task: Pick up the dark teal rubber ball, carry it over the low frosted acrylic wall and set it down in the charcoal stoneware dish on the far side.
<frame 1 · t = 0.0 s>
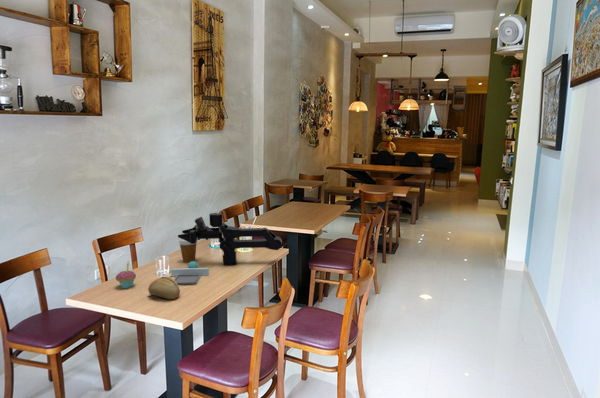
hand: (180, 233, 232), 17 cm above the table, tool horizontal, fingers open, 9 cm apart
wall: (190, 275, 217), on the table
cupcake: (126, 286, 204), on the table
bread roll: (164, 296, 192), on the table
dish: (186, 280, 210), on the table
ball: (193, 266, 224), point 2 cm above the table
disposable coffee cup: (189, 261, 241), on the table
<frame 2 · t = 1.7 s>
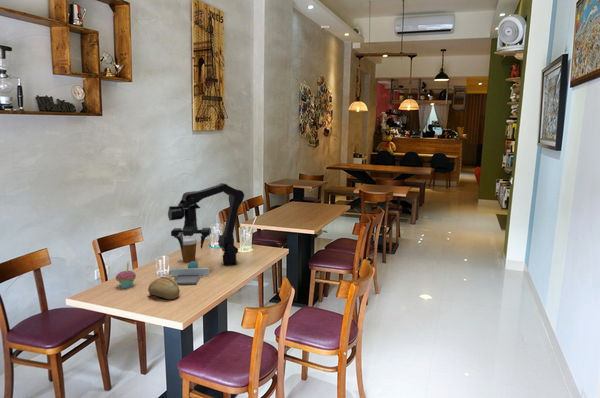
hand: (192, 248, 223), 11 cm above the table, tool pointing down, fingers open, 9 cm apart
nothing on the table moved.
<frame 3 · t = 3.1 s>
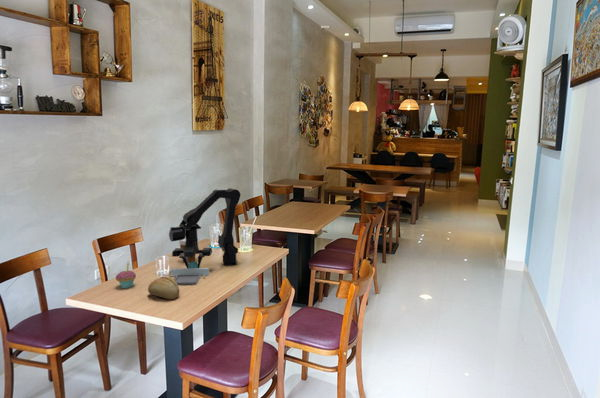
hand: (193, 268, 224), 1 cm above the table, tool pointing down, fingers closed on ball, 5 cm apart
ball: (193, 266, 224), point 2 cm above the table, touching gripper
everything else where it was.
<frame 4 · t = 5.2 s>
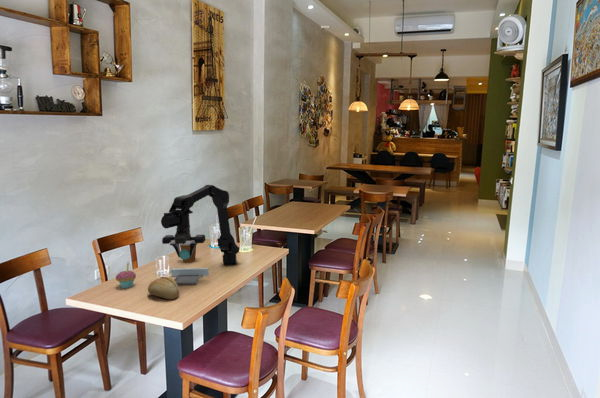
hand: (185, 257, 208), 12 cm above the table, tool pointing down, fingers closed on ball, 5 cm apart
ball: (184, 254, 208), point 13 cm above the table, touching gripper
everything else where it was.
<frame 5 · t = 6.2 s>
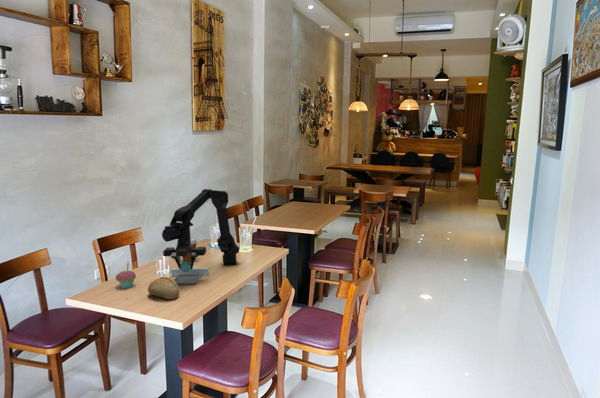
hand: (186, 269, 209), 6 cm above the table, tool pointing down, fingers closed on ball, 5 cm apart
ball: (185, 266, 209), point 7 cm above the table, touching gripper
everything else where it was.
when the fingers open (2 cm above the table, at t = 7.2 s): ball stays where it is, resting on dish.
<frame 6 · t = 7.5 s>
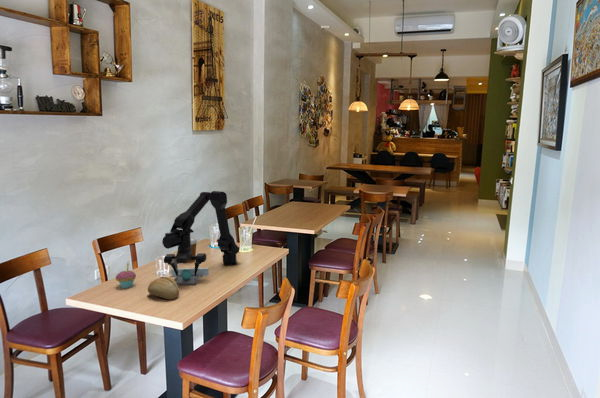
hand: (186, 275, 210), 2 cm above the table, tool pointing down, fingers open, 8 cm apart
ball: (186, 274, 210), point 3 cm above the table, touching dish
everything else where it was.
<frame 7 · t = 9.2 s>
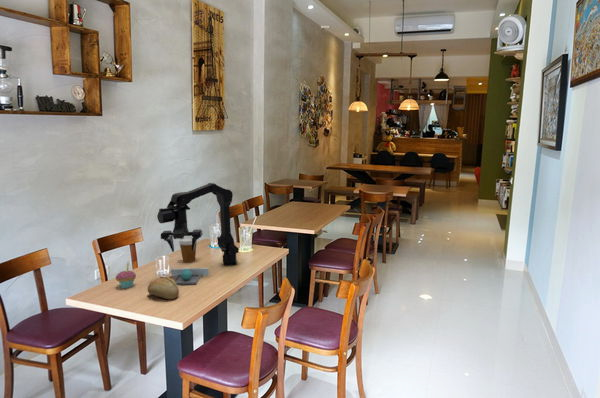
hand: (183, 251, 215), 12 cm above the table, tool pointing down, fingers open, 9 cm apart
nothing on the table moved.
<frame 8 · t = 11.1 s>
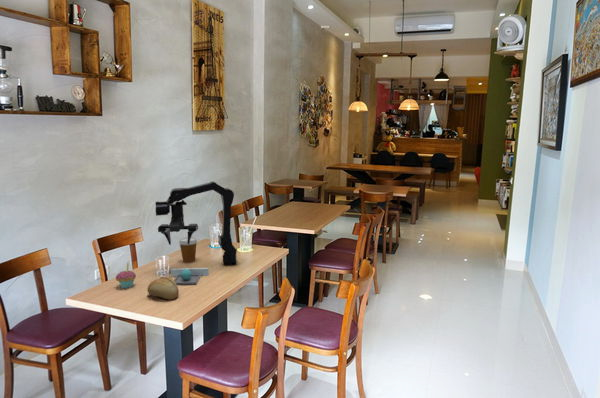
hand: (179, 244, 225), 13 cm above the table, tool pointing down, fingers open, 9 cm apart
nothing on the table moved.
at the end: ball 0.1 cm from the dish (horizontally); ball point 3.1 cm above the table; the gripper is holding nothing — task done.
